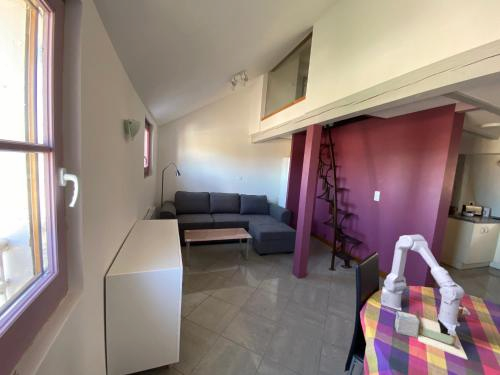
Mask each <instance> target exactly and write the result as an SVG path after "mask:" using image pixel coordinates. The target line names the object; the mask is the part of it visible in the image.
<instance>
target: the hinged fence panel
mask: <svg viewBox="0 0 500 375" xmlns="http://www.w3.org/2000/svg"><path fill="white" fill-rule="evenodd" d="M418 334H419V335H424V336H427V337H430V338H433V339H436V340H439V341H442V342H445V343H448V344H451V345H453V346H455V340H456V337H455V336H449V335H446V334H443V333H440V332H436V331H433V330H430V329H427V328H424V327H423V326H421V325H419V327H418Z"/></svg>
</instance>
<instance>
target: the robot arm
mask: <svg viewBox="0 0 500 375" xmlns="http://www.w3.org/2000/svg"><path fill="white" fill-rule="evenodd" d="M408 250H411V251H413V252H417V253H419V254H420V255H421V257H422V258H423V260H424V262H426V263H427V265H428V266H429V268H430V274H431V276H432V277H433V278H434V280H435V282H436V283H437V285H438V287H440V288H439V293H440V295H441V299H440V302H441V303H440V306H439V307H440V312H439V311H438V312H439V316H438V315H437V323H439V326H440V333H443V334H446V335H449V336H450V334H451V335H455V332H456V330H457V329H456V328H457V327H460V326H461V325H460V323H459V322H456V321H458V319H457V315H458V310H459V307H460V304H461V299H463V298H464V296H465V291H464V289H463V287H461V286H460V285H458V284H457V283H456V282H454V280H453V279H452V277H451V276H450V274H449V272H448V270H446V269H445V268H444V267H442V266H440V264H439V263H438V262H437V260H436V258H435V257H434V255H433V253H432V251H431V250H430V248H429V244H428V242H427V240H426V239H425V238H424V236H423V235H421V234H418V233H417V234H408V235H407V234H405V235H401V236H399V239H398V240H397V241H396V243H395V246H394V254H393V260H392V266H391V271H390V273H389V274H388V275H387V276H386V278H385V279H384V280H383V281H384V282H383V285H384V286H382V290H381V295H380V304H381V306H385V307H388V308H391V309H394V310H396V311H399V312H403V311H402V296H403V292H404V290H406V289H407V281H406V280H407V279H406V277H405V276H404V273H405V267H406V262H407V256H408Z"/></svg>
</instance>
